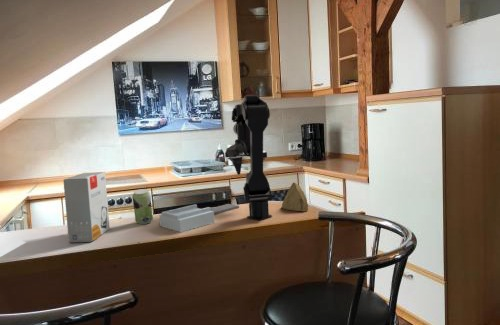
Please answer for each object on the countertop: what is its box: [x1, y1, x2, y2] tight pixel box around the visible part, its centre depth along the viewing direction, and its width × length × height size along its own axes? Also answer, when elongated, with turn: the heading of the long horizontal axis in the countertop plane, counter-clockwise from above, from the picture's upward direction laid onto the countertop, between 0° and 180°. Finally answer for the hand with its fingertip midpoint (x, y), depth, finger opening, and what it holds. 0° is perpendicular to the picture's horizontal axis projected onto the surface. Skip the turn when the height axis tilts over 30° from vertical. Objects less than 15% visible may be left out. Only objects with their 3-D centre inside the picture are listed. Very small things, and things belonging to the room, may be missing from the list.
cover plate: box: [211, 203, 240, 216], centre depth 160 cm, size 6×16×2 cm, turn 136°
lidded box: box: [159, 203, 215, 233], centre depth 142 cm, size 12×14×5 cm
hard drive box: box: [63, 171, 111, 243], centre depth 134 cm, size 16×8×20 cm, turn 179°
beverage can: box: [132, 188, 154, 225], centre depth 147 cm, size 6×7×12 cm
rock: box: [280, 182, 309, 212], centre depth 156 cm, size 11×9×10 cm
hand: (246, 175), depth 167 cm, fingers open, 9 cm apart
